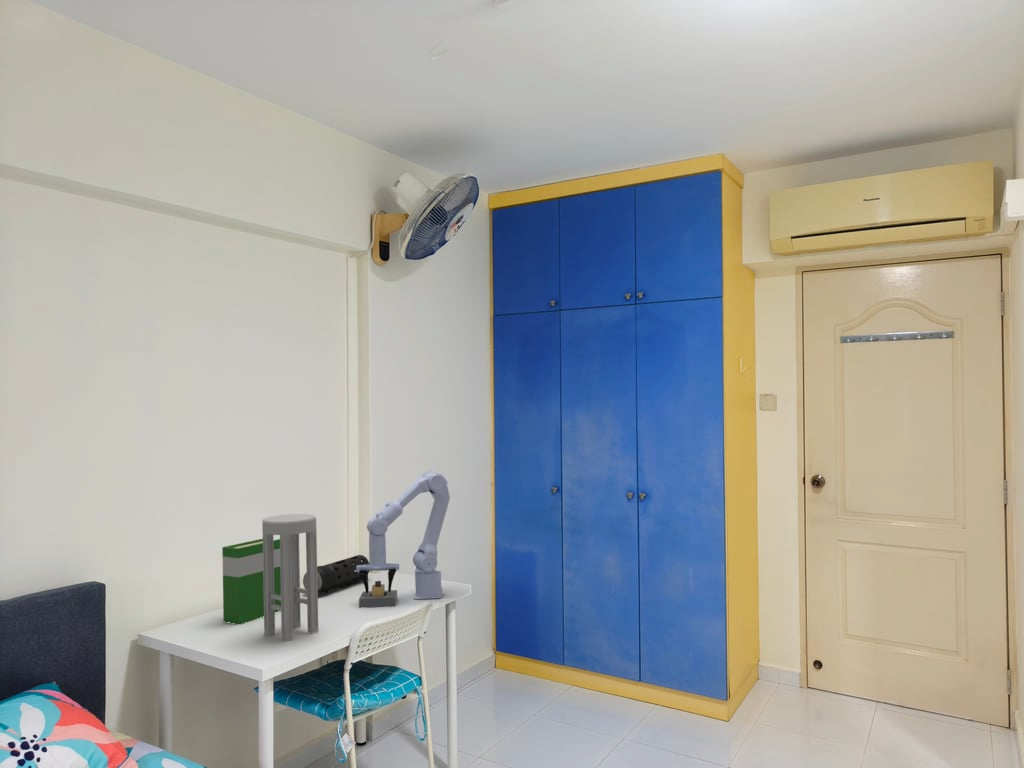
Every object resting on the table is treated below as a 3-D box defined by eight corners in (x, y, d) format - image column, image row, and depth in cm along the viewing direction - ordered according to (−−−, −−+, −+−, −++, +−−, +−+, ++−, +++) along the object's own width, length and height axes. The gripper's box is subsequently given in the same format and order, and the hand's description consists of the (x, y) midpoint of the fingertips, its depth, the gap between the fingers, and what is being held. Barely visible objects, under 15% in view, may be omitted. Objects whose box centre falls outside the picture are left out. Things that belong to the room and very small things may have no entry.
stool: (298, 622, 233) (296, 512, 234) (328, 631, 224) (325, 515, 225) (254, 635, 221) (252, 518, 222) (283, 644, 212) (281, 523, 213)
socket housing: (397, 598, 260) (397, 589, 260) (394, 606, 250) (394, 597, 250) (363, 600, 259) (362, 591, 259) (359, 607, 249) (359, 598, 249)
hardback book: (266, 608, 252) (265, 537, 252) (282, 610, 248) (280, 539, 249) (223, 621, 236) (222, 547, 237) (239, 624, 233) (237, 548, 233)
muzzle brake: (370, 581, 287) (370, 554, 287) (321, 599, 262) (320, 570, 262) (351, 579, 291) (351, 553, 292) (301, 596, 266) (300, 568, 267)
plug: (384, 601, 256) (384, 579, 256) (383, 604, 252) (383, 582, 252) (373, 602, 256) (372, 580, 256) (371, 605, 252) (371, 583, 252)
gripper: (354, 555, 250) (355, 595, 250) (397, 553, 251) (398, 593, 251) (357, 551, 257) (358, 590, 257) (399, 549, 258) (400, 588, 258)
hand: (378, 591), depth 254 cm, fingers open, 7 cm apart
